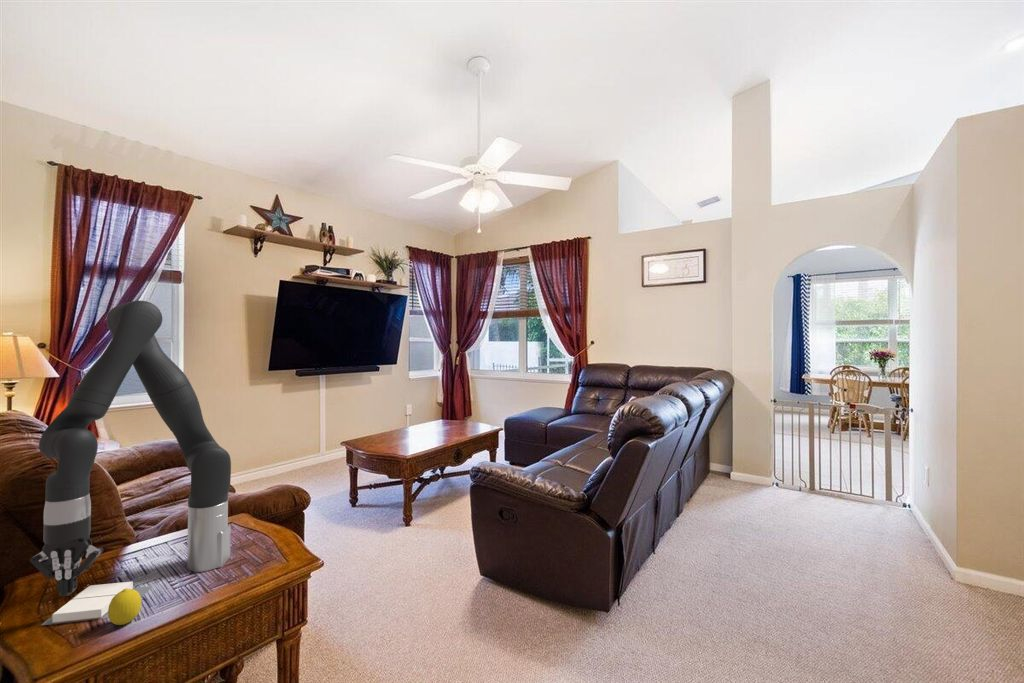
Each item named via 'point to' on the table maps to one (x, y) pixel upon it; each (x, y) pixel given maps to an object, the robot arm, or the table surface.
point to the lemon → (124, 607)
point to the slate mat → (140, 590)
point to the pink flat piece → (82, 609)
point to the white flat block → (104, 590)
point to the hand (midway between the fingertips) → (67, 593)
